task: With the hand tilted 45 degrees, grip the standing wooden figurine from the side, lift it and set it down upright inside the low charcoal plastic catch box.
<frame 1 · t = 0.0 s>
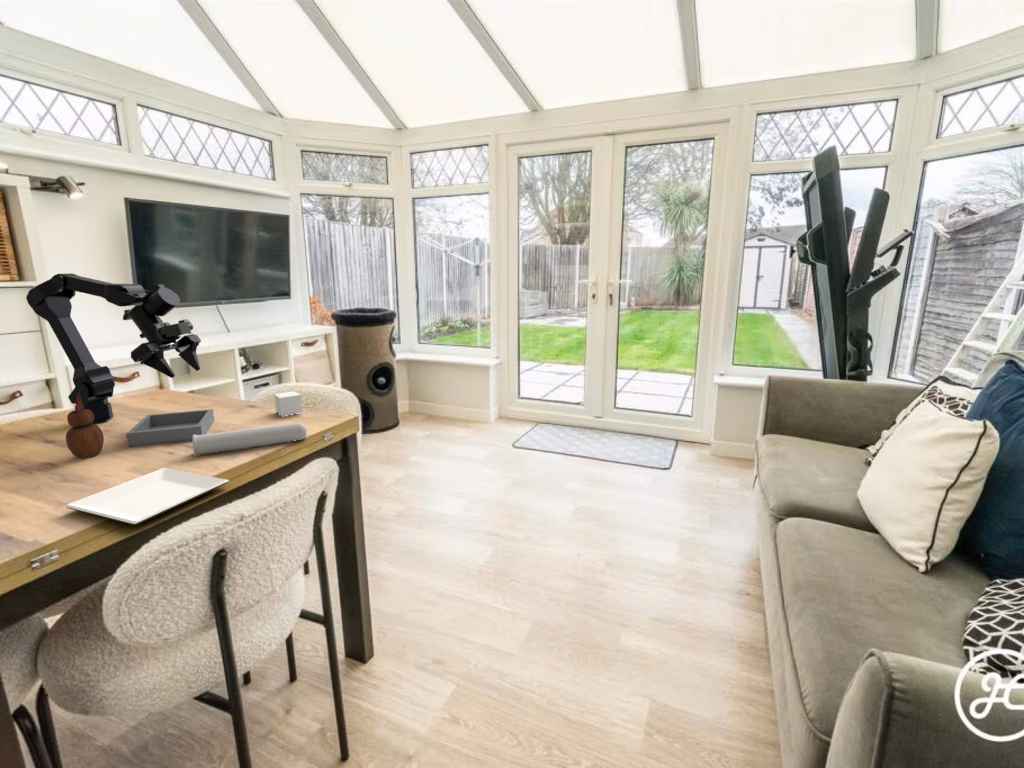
hand: (186, 373, 138), 15 cm above the table, tool tilted 35°, fingers open, 9 cm apart
tube: (254, 447, 125), on the table
light grey cube: (289, 414, 153), on the table
plate: (153, 502, 96), on the table
wooden figurine: (88, 456, 119), on the table
catch box: (175, 432, 135), on the table
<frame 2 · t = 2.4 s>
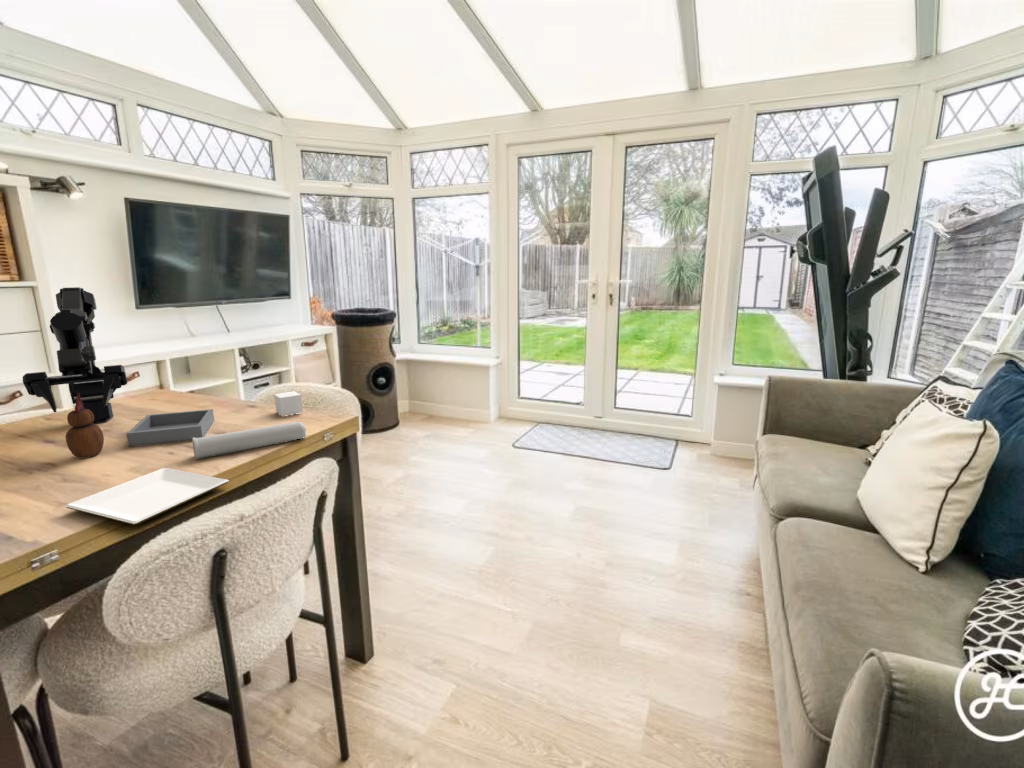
hand: (80, 408, 119), 11 cm above the table, tool tilted 45°, fingers open, 9 cm apart
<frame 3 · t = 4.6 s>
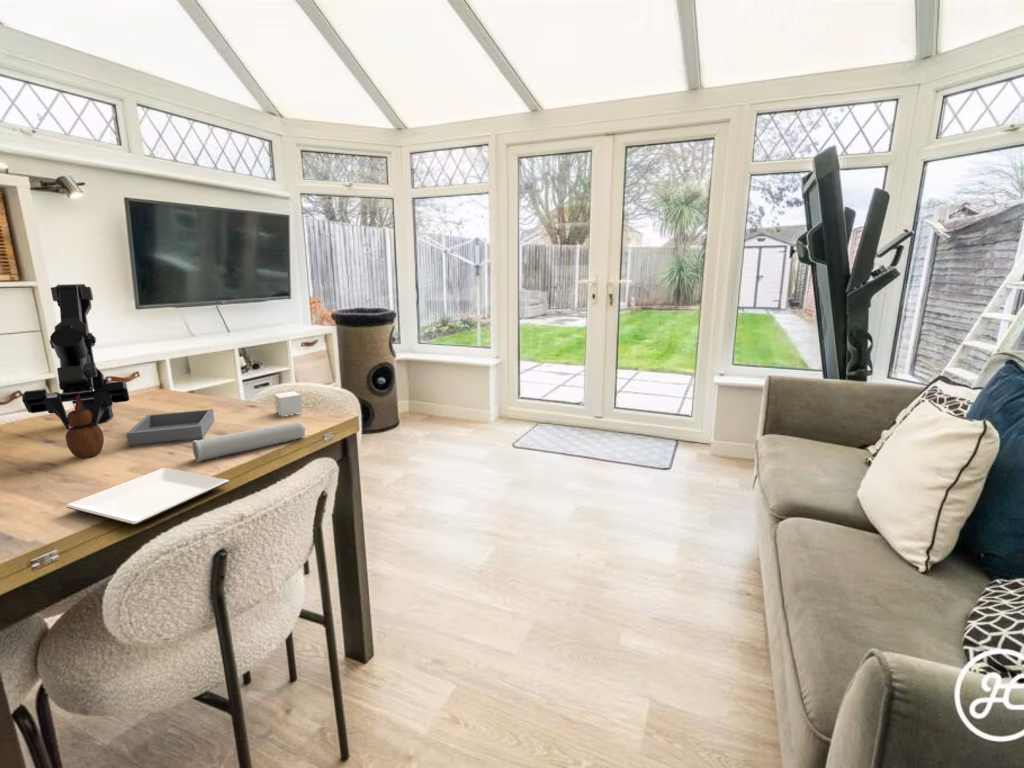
hand: (81, 426, 116), 8 cm above the table, tool tilted 45°, fingers closed on wooden figurine, 5 cm apart
wooden figurine: (88, 456, 119), on the table, touching gripper
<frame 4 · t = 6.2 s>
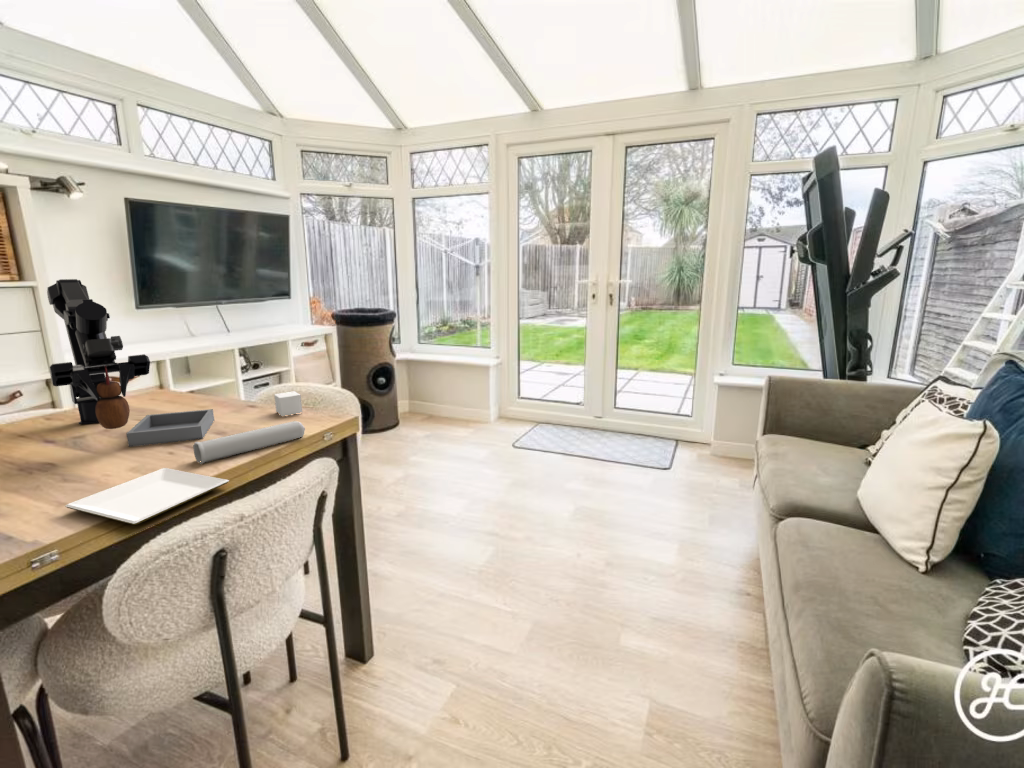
hand: (111, 397, 119), 13 cm above the table, tool tilted 45°, fingers closed on wooden figurine, 5 cm apart
wooden figurine: (115, 427, 122), point 5 cm above the table, touching gripper
when the fingers open (9 cm above the table, at t = 8.2 s): wooden figurine drops 1 cm, resting on catch box.
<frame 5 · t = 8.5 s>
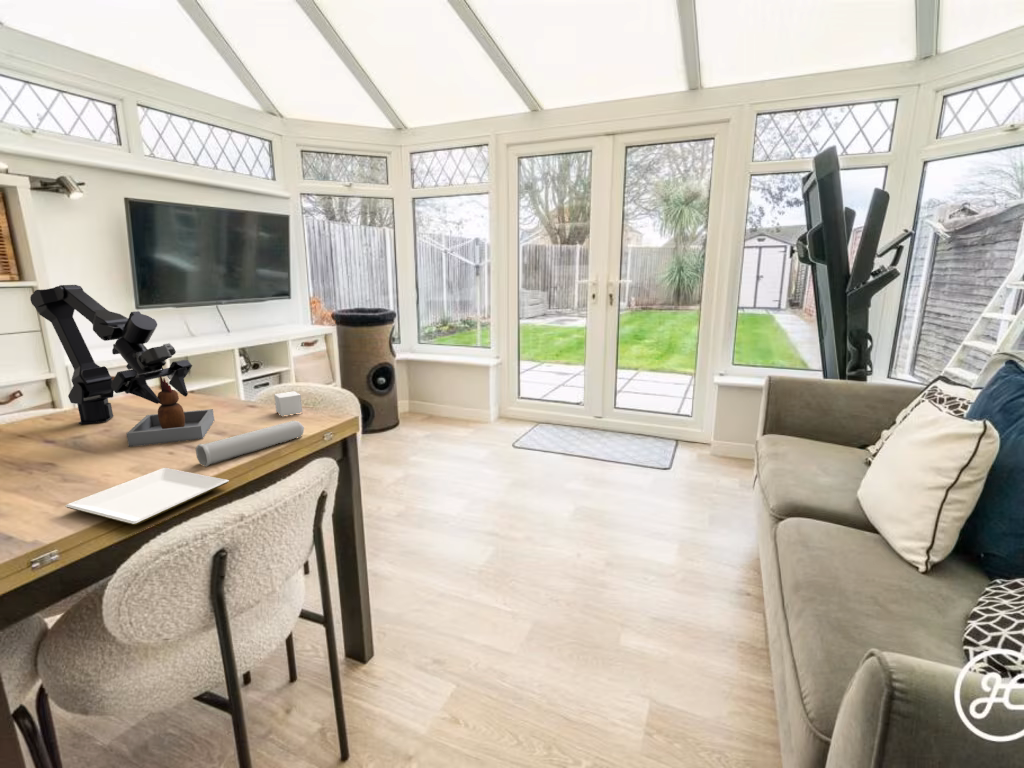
hand: (173, 399, 132), 10 cm above the table, tool tilted 45°, fingers open, 7 cm apart
wooden figurine: (174, 431, 135), resting on catch box
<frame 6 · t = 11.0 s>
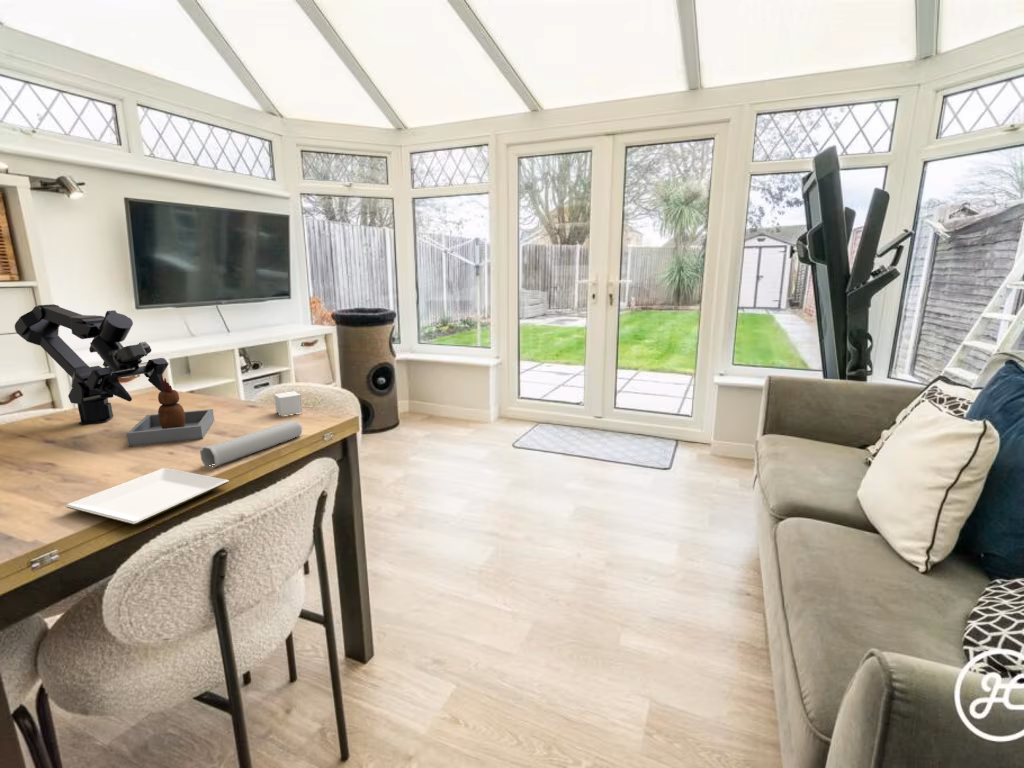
hand: (148, 396, 135), 10 cm above the table, tool tilted 45°, fingers open, 9 cm apart
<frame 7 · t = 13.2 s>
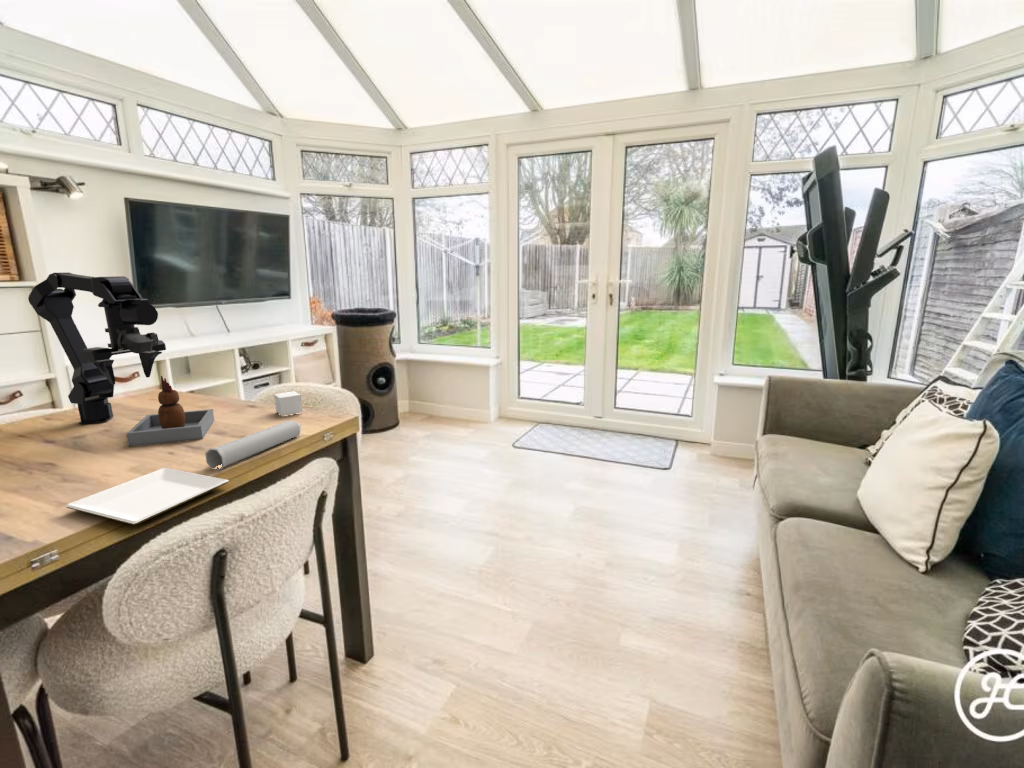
hand: (131, 380, 138), 13 cm above the table, tool pointing down, fingers open, 9 cm apart
at the end: wooden figurine inside the target area on the catch box (0.1 cm from its centre), point 0.3 cm above the catch box's base; wooden figurine tilted 0°; the gripper is holding nothing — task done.
